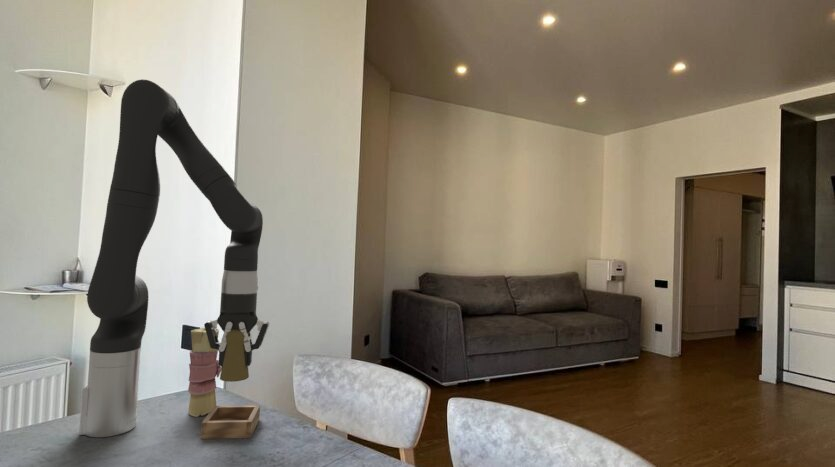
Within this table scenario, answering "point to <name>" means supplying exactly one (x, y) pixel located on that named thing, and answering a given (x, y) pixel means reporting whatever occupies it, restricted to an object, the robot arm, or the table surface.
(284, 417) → the table surface
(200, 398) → the scroll
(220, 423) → the wooden tray
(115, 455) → the table surface
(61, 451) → the table surface
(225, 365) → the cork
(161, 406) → the table surface
